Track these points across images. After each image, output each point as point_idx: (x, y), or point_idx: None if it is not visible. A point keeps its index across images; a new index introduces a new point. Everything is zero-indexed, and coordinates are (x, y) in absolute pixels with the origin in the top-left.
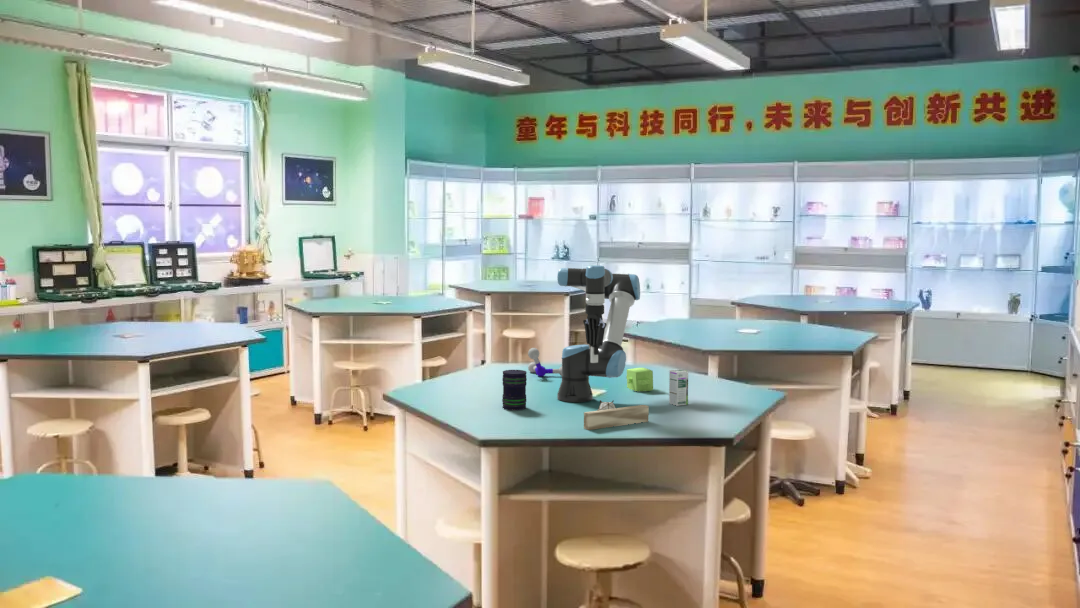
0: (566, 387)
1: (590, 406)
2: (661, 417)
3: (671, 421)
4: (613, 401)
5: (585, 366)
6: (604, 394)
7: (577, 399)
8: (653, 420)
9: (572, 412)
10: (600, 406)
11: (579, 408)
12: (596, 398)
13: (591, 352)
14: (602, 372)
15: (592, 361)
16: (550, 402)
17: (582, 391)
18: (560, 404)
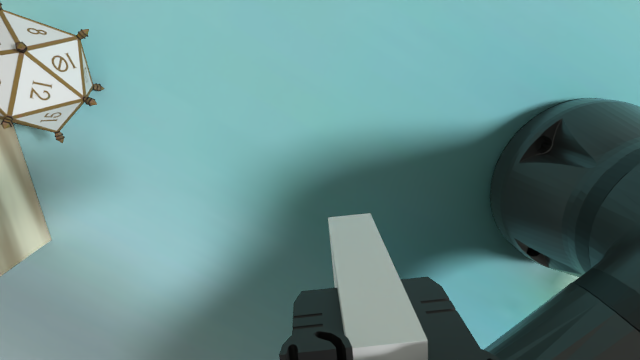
0: (607, 132)
1: (399, 170)
2: (86, 328)
3: (4, 326)
4: (6, 125)
5: (618, 280)
6: None
7: (507, 158)
8: (38, 274)
9: (315, 15)
10: (3, 28)
11: (383, 98)
12: (530, 275)
13: (370, 277)
14: (496, 345)
15: (329, 223)
16: (578, 30)
17: (527, 199)
18: (509, 55)
